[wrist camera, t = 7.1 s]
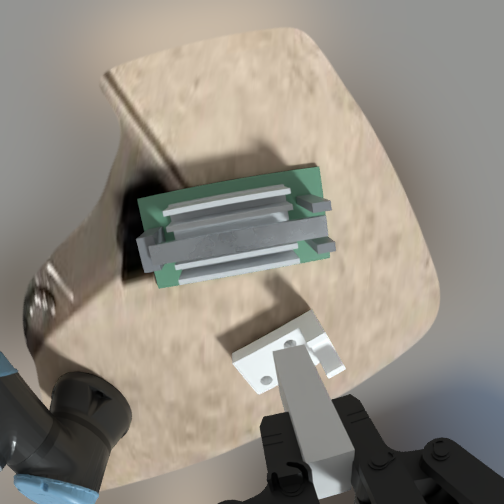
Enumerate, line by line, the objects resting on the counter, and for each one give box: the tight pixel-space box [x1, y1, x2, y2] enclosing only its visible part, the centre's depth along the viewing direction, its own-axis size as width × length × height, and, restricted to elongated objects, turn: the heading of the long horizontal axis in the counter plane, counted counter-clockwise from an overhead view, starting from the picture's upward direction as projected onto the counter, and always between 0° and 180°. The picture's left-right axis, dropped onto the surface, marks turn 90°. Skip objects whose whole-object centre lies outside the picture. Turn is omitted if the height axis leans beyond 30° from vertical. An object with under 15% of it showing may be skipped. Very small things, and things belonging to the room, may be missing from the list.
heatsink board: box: [136, 167, 336, 288], centre depth 36 cm, size 23×12×8 cm, turn 99°
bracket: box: [232, 309, 346, 395], centre depth 42 cm, size 13×7×8 cm, turn 121°
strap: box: [148, 215, 328, 266], centre depth 33 cm, size 19×2×1 cm, turn 99°
